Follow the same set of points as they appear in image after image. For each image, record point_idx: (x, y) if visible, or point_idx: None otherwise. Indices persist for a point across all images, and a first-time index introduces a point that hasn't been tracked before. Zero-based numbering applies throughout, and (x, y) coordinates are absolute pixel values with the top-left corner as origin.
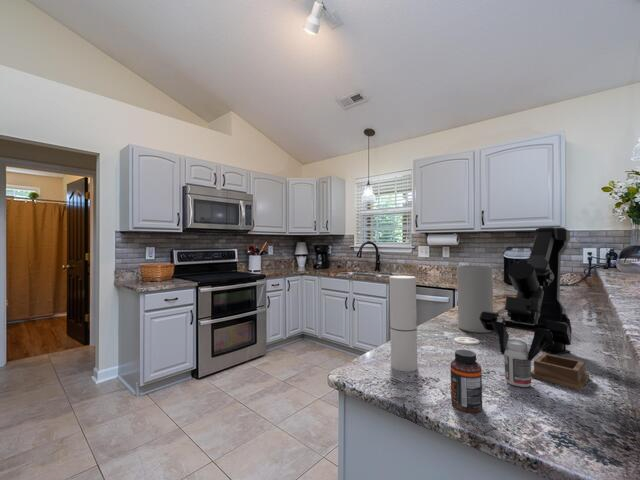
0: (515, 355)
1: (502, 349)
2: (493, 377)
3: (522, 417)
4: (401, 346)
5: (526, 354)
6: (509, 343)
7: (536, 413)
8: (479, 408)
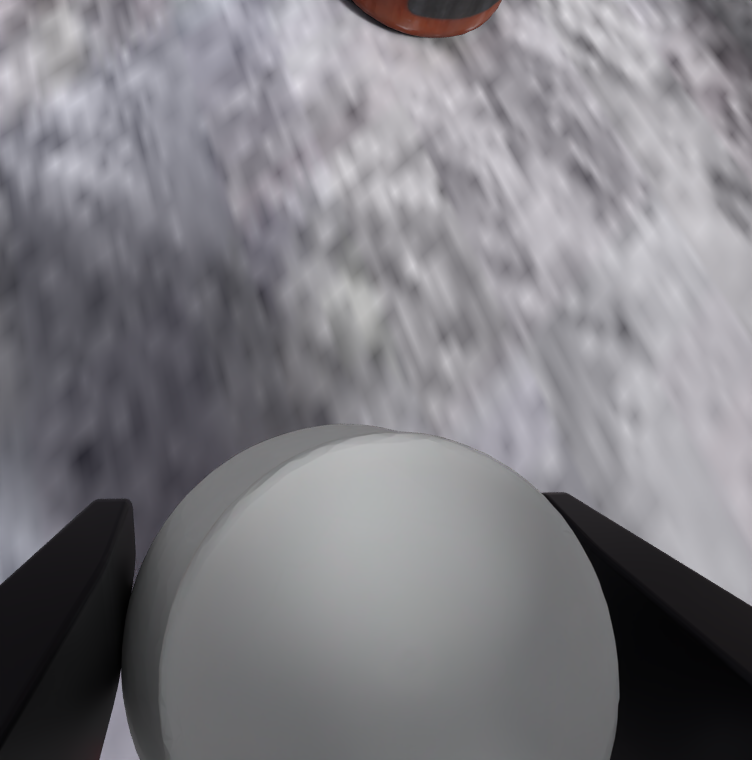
0: (321, 432)
1: (567, 514)
2: None
3: (111, 31)
4: None
5: (167, 578)
6: (504, 470)
7: (41, 135)
8: None
